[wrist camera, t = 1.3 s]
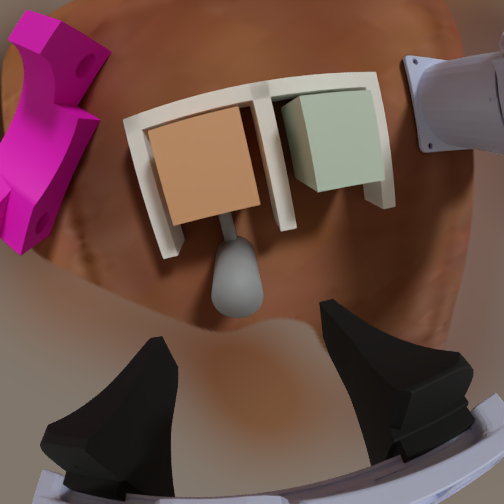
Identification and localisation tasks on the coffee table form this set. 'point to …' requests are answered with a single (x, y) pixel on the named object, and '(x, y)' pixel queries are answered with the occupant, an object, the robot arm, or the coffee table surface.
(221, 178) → the handled block
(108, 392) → the robot arm
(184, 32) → the coffee table surface
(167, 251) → the rack
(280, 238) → the coffee table surface
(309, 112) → the green block
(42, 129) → the toy block
